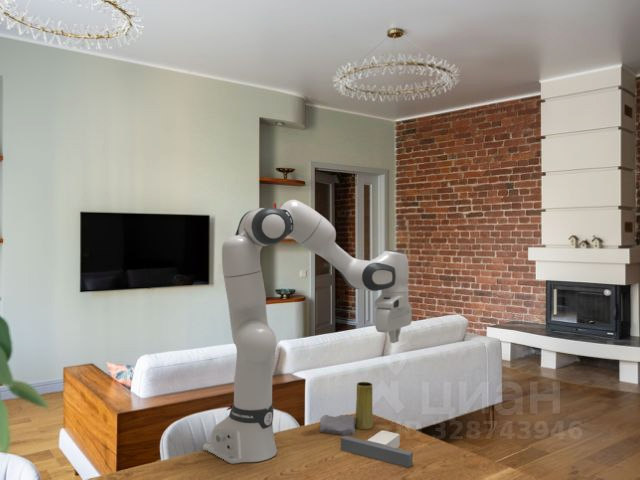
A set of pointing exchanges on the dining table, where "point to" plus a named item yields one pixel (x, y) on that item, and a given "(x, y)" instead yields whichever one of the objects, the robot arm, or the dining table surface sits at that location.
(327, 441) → the dining table surface
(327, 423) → the stone block
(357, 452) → the charcoal board
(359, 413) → the vase
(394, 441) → the offwhite block
